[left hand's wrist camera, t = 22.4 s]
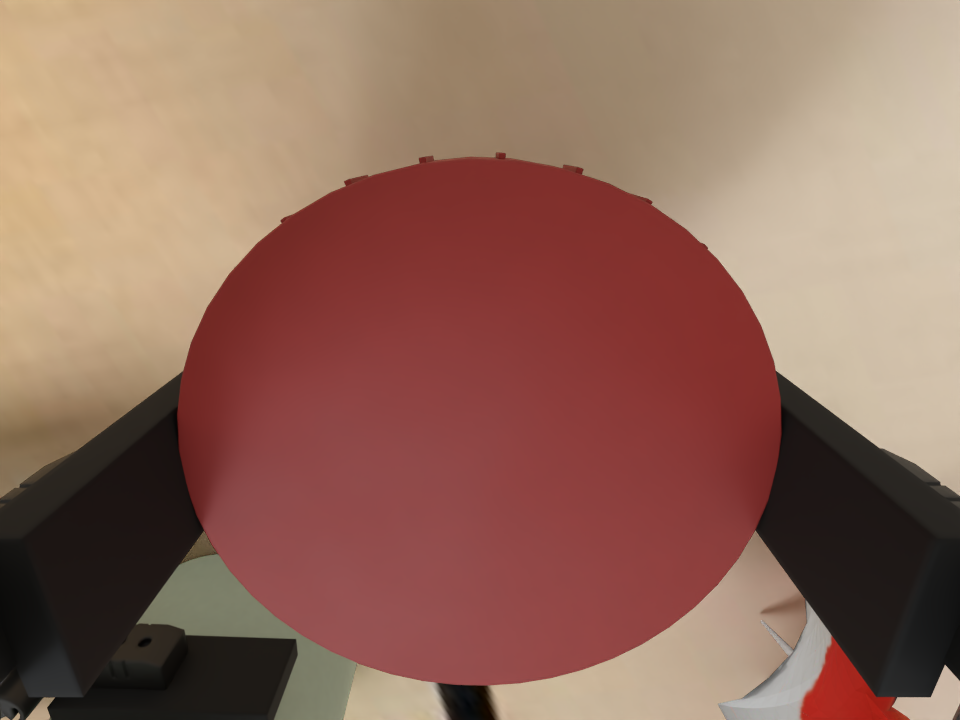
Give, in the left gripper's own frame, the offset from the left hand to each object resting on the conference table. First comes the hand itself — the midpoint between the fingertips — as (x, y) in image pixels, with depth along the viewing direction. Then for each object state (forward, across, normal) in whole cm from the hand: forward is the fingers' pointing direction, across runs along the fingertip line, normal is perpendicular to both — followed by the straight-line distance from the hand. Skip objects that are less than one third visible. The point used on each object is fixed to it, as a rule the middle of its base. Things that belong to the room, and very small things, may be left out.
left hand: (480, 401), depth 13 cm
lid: (-3, 0, 0) cm, 3 cm away
